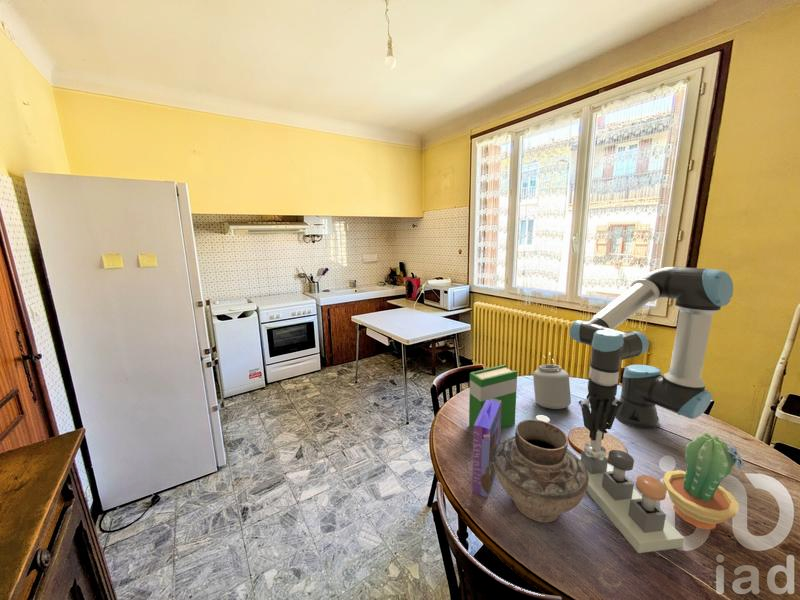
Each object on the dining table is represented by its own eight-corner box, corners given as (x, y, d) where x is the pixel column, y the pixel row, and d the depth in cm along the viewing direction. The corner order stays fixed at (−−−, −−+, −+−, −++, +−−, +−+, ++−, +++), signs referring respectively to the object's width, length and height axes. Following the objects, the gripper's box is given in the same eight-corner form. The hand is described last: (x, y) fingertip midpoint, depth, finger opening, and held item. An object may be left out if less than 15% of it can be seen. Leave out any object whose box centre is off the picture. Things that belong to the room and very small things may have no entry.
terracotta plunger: (648, 496, 85) (652, 474, 84) (668, 515, 79) (673, 492, 78) (627, 498, 85) (631, 476, 83) (646, 518, 79) (650, 494, 77)
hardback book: (502, 415, 138) (504, 364, 133) (514, 424, 131) (517, 371, 126) (469, 425, 132) (469, 372, 127) (479, 435, 125) (481, 380, 120)
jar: (522, 396, 153) (525, 347, 148) (548, 391, 156) (552, 344, 151) (549, 417, 135) (553, 363, 130) (577, 411, 139) (583, 359, 133)
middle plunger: (620, 469, 95) (622, 449, 93) (636, 484, 89) (639, 463, 88) (601, 471, 94) (603, 450, 93) (616, 486, 89) (619, 465, 87)
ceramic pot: (568, 477, 102) (574, 412, 97) (598, 552, 79) (608, 471, 74) (489, 468, 108) (491, 405, 103) (495, 535, 84) (498, 458, 79)
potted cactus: (715, 551, 78) (734, 464, 73) (647, 503, 92) (659, 428, 87) (745, 526, 84) (765, 445, 79) (677, 485, 98) (690, 413, 93)
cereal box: (487, 498, 96) (489, 428, 91) (472, 492, 98) (473, 424, 93) (499, 461, 111) (501, 400, 106) (485, 457, 113) (487, 397, 108)
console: (598, 462, 108) (600, 442, 107) (682, 547, 79) (687, 521, 78) (565, 466, 108) (567, 445, 106) (638, 553, 78) (642, 526, 77)
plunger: (595, 459, 106) (597, 441, 104) (608, 473, 100) (610, 454, 98) (578, 461, 105) (580, 443, 104) (590, 474, 99) (592, 455, 98)
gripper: (613, 373, 100) (605, 438, 105) (574, 376, 99) (568, 442, 104) (632, 384, 93) (623, 454, 98) (591, 388, 92) (583, 457, 97)
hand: (595, 447), depth 101 cm, fingers closed
